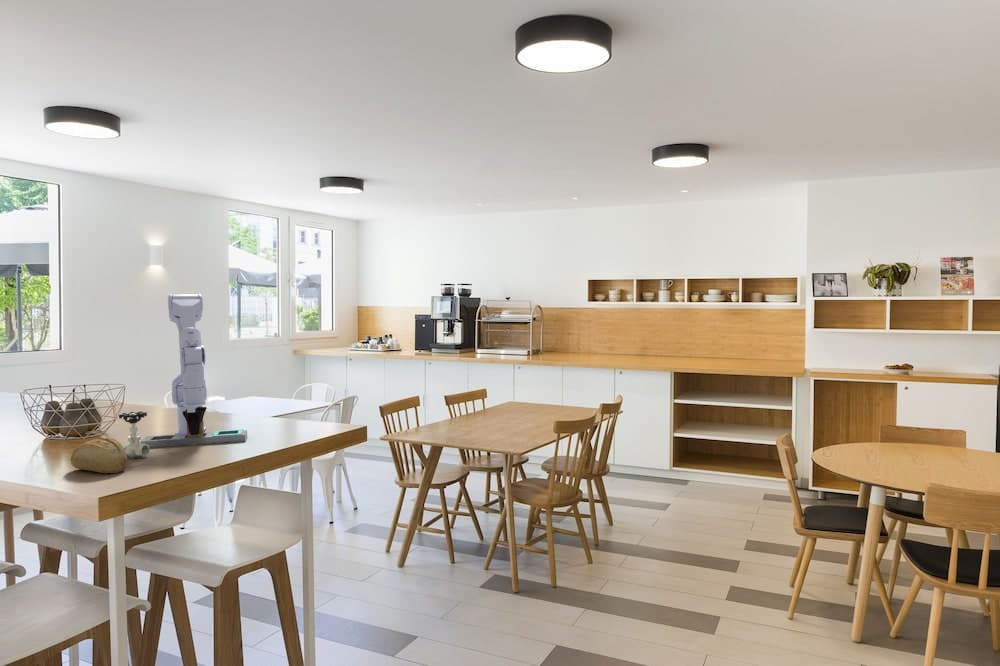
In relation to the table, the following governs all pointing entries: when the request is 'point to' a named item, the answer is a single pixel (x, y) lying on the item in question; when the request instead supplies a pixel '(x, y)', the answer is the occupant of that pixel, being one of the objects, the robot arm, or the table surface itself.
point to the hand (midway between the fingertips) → (195, 433)
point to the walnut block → (201, 431)
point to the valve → (134, 436)
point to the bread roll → (100, 456)
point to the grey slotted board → (196, 438)
